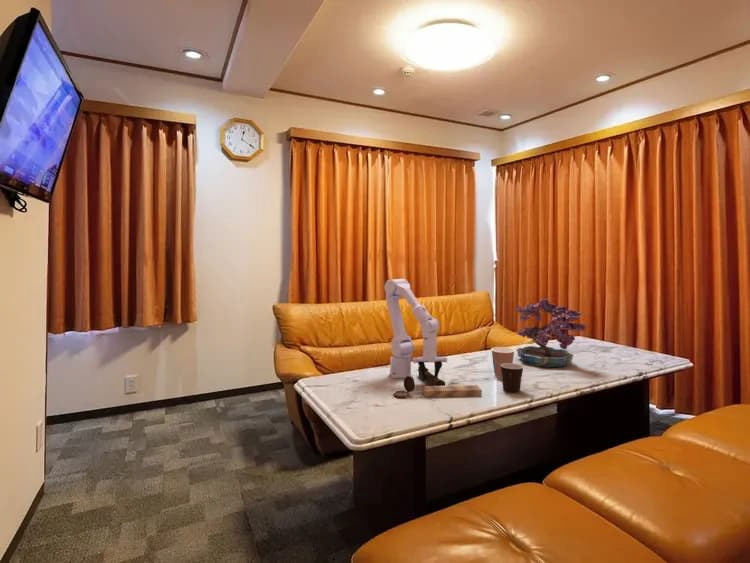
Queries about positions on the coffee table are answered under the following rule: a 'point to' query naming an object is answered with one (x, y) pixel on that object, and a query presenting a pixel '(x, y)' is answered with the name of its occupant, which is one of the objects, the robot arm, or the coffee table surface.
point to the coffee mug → (511, 377)
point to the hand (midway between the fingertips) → (429, 379)
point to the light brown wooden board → (452, 391)
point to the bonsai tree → (548, 334)
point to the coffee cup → (501, 358)
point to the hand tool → (431, 378)
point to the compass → (406, 388)
